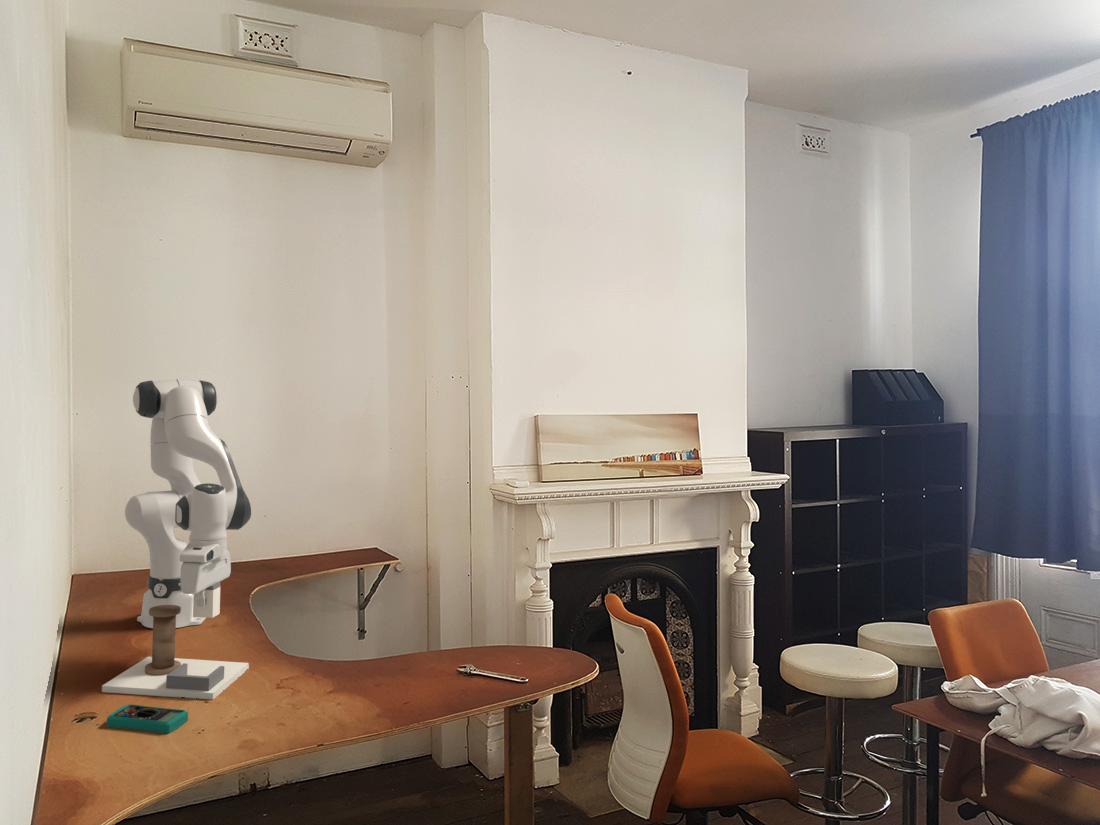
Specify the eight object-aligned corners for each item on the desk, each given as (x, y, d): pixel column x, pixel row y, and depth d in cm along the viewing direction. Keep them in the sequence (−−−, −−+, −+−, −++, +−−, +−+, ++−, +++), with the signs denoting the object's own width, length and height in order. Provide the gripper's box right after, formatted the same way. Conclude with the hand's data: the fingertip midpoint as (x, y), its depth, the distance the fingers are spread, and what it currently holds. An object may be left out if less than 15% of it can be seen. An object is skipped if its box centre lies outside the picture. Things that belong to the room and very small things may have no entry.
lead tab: (200, 612, 209) (201, 581, 208) (219, 613, 208) (220, 582, 208) (193, 617, 205) (193, 585, 204) (212, 617, 204) (213, 586, 204)
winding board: (148, 662, 207) (148, 644, 207) (248, 668, 206) (249, 651, 206) (101, 692, 187) (102, 672, 187) (212, 699, 186) (213, 680, 186)
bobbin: (155, 662, 203) (157, 603, 202) (186, 664, 203) (189, 605, 202) (137, 674, 195) (139, 612, 195) (170, 676, 195) (172, 614, 194)
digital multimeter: (126, 714, 177) (126, 701, 177) (189, 722, 175) (190, 708, 175) (103, 729, 170) (103, 715, 170) (169, 736, 168) (169, 722, 168)
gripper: (214, 540, 217) (213, 592, 217) (175, 556, 196) (174, 613, 196) (237, 541, 216) (236, 593, 217) (201, 557, 196) (200, 614, 196)
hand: (206, 603), depth 206 cm, fingers closed on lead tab, 4 cm apart
